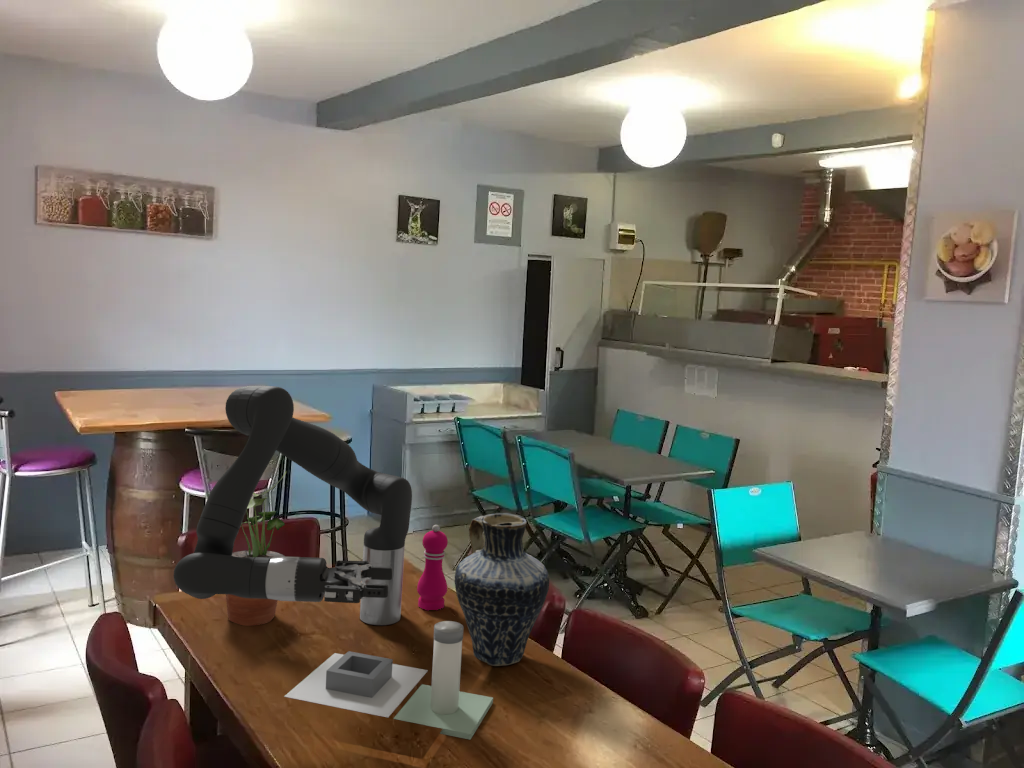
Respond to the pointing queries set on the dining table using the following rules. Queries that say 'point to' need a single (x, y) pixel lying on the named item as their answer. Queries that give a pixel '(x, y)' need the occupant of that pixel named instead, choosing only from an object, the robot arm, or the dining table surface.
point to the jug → (500, 588)
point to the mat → (451, 724)
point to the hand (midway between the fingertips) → (390, 582)
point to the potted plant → (251, 608)
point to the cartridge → (446, 667)
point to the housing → (358, 683)
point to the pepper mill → (433, 571)
